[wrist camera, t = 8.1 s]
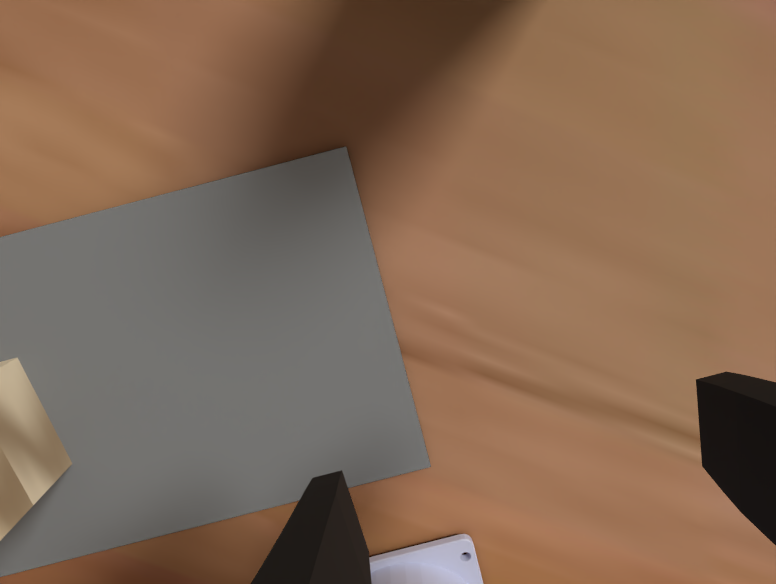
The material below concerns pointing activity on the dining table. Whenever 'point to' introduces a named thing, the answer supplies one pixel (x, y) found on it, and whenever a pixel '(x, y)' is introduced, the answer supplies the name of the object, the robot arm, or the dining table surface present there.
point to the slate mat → (204, 356)
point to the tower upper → (11, 497)
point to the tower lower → (28, 433)
